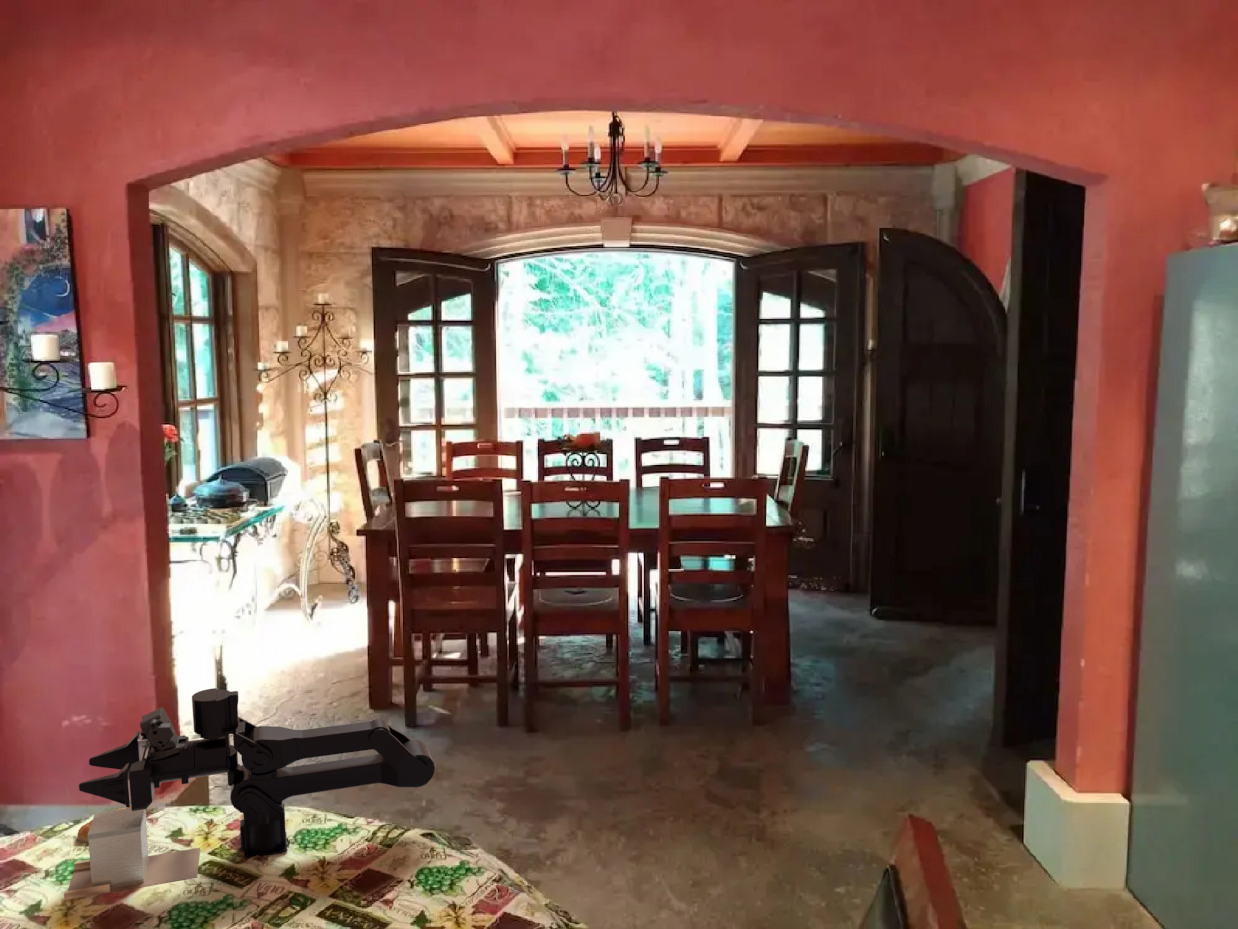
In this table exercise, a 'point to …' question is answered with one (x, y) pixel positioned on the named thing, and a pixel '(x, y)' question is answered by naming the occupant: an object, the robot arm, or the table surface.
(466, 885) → the table surface
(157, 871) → the board
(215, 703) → the robot arm
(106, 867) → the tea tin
